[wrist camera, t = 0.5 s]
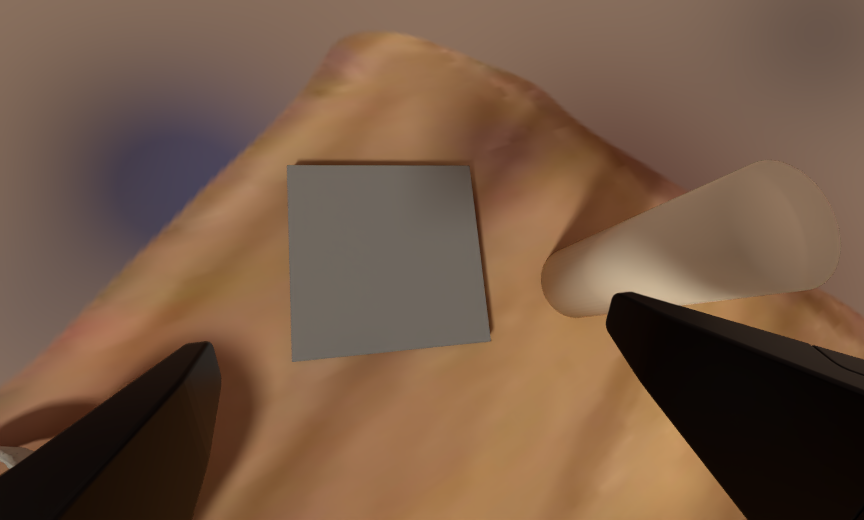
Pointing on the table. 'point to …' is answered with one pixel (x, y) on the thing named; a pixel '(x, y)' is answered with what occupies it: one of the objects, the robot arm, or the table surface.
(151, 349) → the table surface
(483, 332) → the slate coaster
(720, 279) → the frosted tapered cylinder
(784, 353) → the robot arm
